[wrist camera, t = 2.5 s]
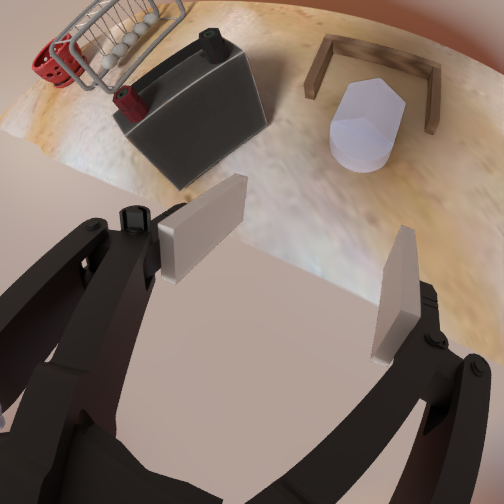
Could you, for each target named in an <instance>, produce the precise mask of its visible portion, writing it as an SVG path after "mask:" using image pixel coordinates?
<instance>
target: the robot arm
mask: <svg viewBox="0 0 504 504" xmlns="http://www.w3.org/2000/svg"><path fill="white" fill-rule="evenodd" d="M247 181H248V177H247V176H243V175H239V174H234V175H232V176H231V177H229V178H227V179H226V180H224V181H222V182H221V183H219V184H218V185H216V186H214V187H213V188H211V189H210V190H208V191H206V192H205V193H203V194H202V195H200V196H199V197H197V198H196V199H194V200H192V201H191V202H189V203H188V204H187V203H181V204H177V205H174V206H173V207H171V208H170V209H168V211H165V212H164V213H162V215H161V214H160V215H159V216H157V217H156V218H154V219H153V220H151V217H150V216H151V215H150V210H149V208H147V207H145V206H140V205H135V206H129V207H126V208H124V209H122V210H121V211H120V212H119V214H120V222H121V231H116V230H109V229H108V224H107V221H106V220H105V219H102V218H91V219H89V220H87V221H85V222H83V223H82V224H81V225H79V226H78V227H77V228H75V229H74V230H73V231H72V232H71V233H69V234H68V235H67V236H66V237H64V238H63V239H62V240H61V241H60V242H59V243H57V244H56V245H55V246H54V247H53V248H52V249H51V250H49V251H48V252H47V253H46V254H45V255H44V256H42V257H41V258H40V259H39V260H38V261H37V262H36V263H35V264H34V265H32V266H31V267H30V268H29V269H28V270H27V271H26V272H25V273H24V274H23V275H22V276H21V277H20V278H19V279H18V280H16V281H15V283H13V284H12V285H11V286H10V287H9V288H8V289H7V290H6V291H5V292H4V293H3V294H2V295H1V296H0V430H1V429H2V428H3V427H4V425H5V419H4V417H3V416H2V415H1V414H2V413H4V412H5V411H6V410H7V409H8V408H9V407H10V406H11V405H12V404H13V403H14V402H15V401H16V400H17V398H18V397H19V396H20V394H21V393H22V392H23V391H24V389H25V388H26V389H25V391H24V394H23V397H22V399H21V402H20V404H19V407H18V410H17V412H16V415H15V417H14V420H13V424H12V426H11V429H10V432H4V433H0V504H222V502H223V499H221V498H219V497H216V496H214V495H212V494H210V493H208V492H206V491H204V490H201V489H200V488H197V487H196V486H194V485H192V484H189V483H188V482H184V481H181V480H177V479H173V478H170V477H167V476H164V475H160V474H157V473H154V472H151V471H149V470H147V469H146V468H145V467H144V466H143V465H141V463H140V462H139V461H138V460H137V459H136V458H135V457H134V456H133V455H132V454H131V453H130V451H129V450H128V449H127V448H126V447H125V446H124V445H123V444H122V442H120V441H119V440H117V439H116V420H115V419H116V411H117V407H118V403H119V399H120V395H121V391H122V387H123V384H124V380H125V376H126V373H127V369H128V366H129V362H130V359H131V355H132V352H133V348H134V345H135V342H136V338H137V335H138V332H139V329H140V326H141V322H142V319H143V316H144V313H145V310H146V307H147V304H148V301H149V298H150V295H151V292H152V289H153V286H154V283H155V273H156V272H157V271H158V270H159V269H160V268H161V277H162V279H163V280H165V281H168V282H170V283H172V284H174V285H177V284H178V283H179V282H180V281H181V280H182V279H183V278H184V277H185V276H186V275H187V274H188V273H189V272H190V271H191V270H192V269H193V268H194V267H195V266H196V265H197V264H198V263H199V262H200V261H201V260H202V259H203V258H204V257H205V256H206V255H207V254H208V253H209V252H211V250H213V249H214V248H215V247H216V246H217V245H218V244H219V243H220V242H221V241H222V240H223V239H224V238H225V237H226V236H227V235H228V234H230V233H231V232H232V231H233V230H234V229H235V228H236V227H237V226H238V225H239V224H240V223H241V222H242V221H243V215H244V207H245V198H246V190H247ZM85 258H86V262H87V266H86V267H84V268H83V267H82V263H81V262H82V261H83V260H84V259H85ZM437 302H438V300H437V293H436V291H435V289H434V288H433V286H432V285H431V284H428V283H425V282H423V281H420V280H419V267H418V256H417V245H416V236H415V230H414V229H412V228H409V227H406V226H403V225H401V227H400V229H399V232H398V235H397V237H396V240H395V242H394V245H393V247H392V250H391V252H390V255H389V257H388V259H387V262H386V264H385V267H384V270H383V280H382V288H381V296H380V304H379V311H378V317H377V324H376V331H375V336H374V342H373V347H372V353H371V358H370V361H372V362H375V363H378V364H381V365H384V366H388V365H389V364H390V362H391V361H392V360H393V358H394V361H393V364H392V366H391V367H390V368H389V369H388V371H387V372H386V373H385V374H384V376H383V377H382V378H381V379H380V380H379V381H378V383H377V384H376V385H375V386H374V387H373V388H372V390H371V391H370V392H369V393H368V394H367V395H366V396H365V398H364V399H363V400H362V401H361V402H360V403H359V404H358V405H357V406H356V407H355V409H353V411H352V412H351V413H350V414H349V415H348V416H347V417H346V418H345V419H344V420H343V421H342V422H341V423H340V424H339V425H338V426H337V427H336V428H335V429H334V430H333V431H332V432H331V433H330V434H329V435H328V436H327V437H326V438H325V439H324V440H323V441H322V442H321V443H320V444H319V445H318V446H317V447H316V448H314V449H313V450H312V451H311V452H310V453H309V454H308V455H307V456H305V457H304V458H303V459H302V460H301V461H300V462H299V463H297V464H296V465H295V466H294V467H293V468H292V469H290V470H289V471H288V472H287V473H286V474H284V475H283V476H282V477H280V478H279V479H277V480H276V481H274V482H273V483H272V484H271V485H269V486H268V487H267V488H265V489H264V490H262V492H260V493H259V494H257V495H256V496H254V497H253V498H252V499H250V500H249V501H248V502H246V503H245V504H336V503H337V501H339V499H340V498H341V497H342V496H343V495H344V494H345V493H346V492H347V491H348V490H349V489H350V488H351V487H352V486H353V485H354V484H355V482H356V481H357V480H358V479H359V478H360V477H361V476H362V475H363V474H364V472H365V471H366V470H367V469H368V468H369V467H370V465H371V464H372V463H373V462H374V461H375V459H376V458H377V457H378V456H379V454H380V453H381V452H382V451H383V449H384V448H385V447H386V446H387V444H388V443H389V441H390V440H391V439H392V438H393V436H394V435H395V434H396V432H397V431H398V429H399V428H400V427H401V425H402V424H403V422H404V421H405V420H406V418H407V417H408V415H409V414H410V412H411V411H412V409H413V408H414V406H415V405H416V403H417V402H418V400H419V398H421V399H422V400H424V401H425V402H427V403H426V407H425V410H424V413H423V417H422V420H421V423H420V427H419V429H418V432H417V435H416V438H415V441H414V444H413V447H412V450H411V452H410V455H409V458H408V460H407V463H406V465H405V468H404V470H403V473H402V475H401V478H400V480H399V482H398V485H397V487H396V489H395V491H394V493H393V496H392V498H391V500H390V502H389V504H470V502H471V498H472V495H473V491H474V487H475V484H476V479H477V475H478V471H479V467H480V462H481V457H482V452H483V447H484V441H485V434H486V428H487V421H488V412H489V401H490V389H491V369H490V367H489V364H488V363H487V361H486V360H485V359H484V358H483V357H481V356H480V355H477V354H469V355H467V356H466V357H465V358H464V360H463V359H462V358H460V357H459V356H457V355H456V354H454V353H453V352H451V351H450V350H449V349H448V345H449V344H448V340H447V338H446V336H445V335H444V333H443V332H441V331H440V322H439V310H438V303H437ZM58 343H59V344H58ZM57 344H58V346H57ZM56 346H57V348H56V350H55V353H54V355H53V357H52V359H51V360H50V361H49V362H44V361H45V360H46V359H47V357H48V356H49V355H50V353H51V352H52V351H53V349H54V348H55V347H56ZM26 386H27V387H26Z"/></svg>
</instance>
